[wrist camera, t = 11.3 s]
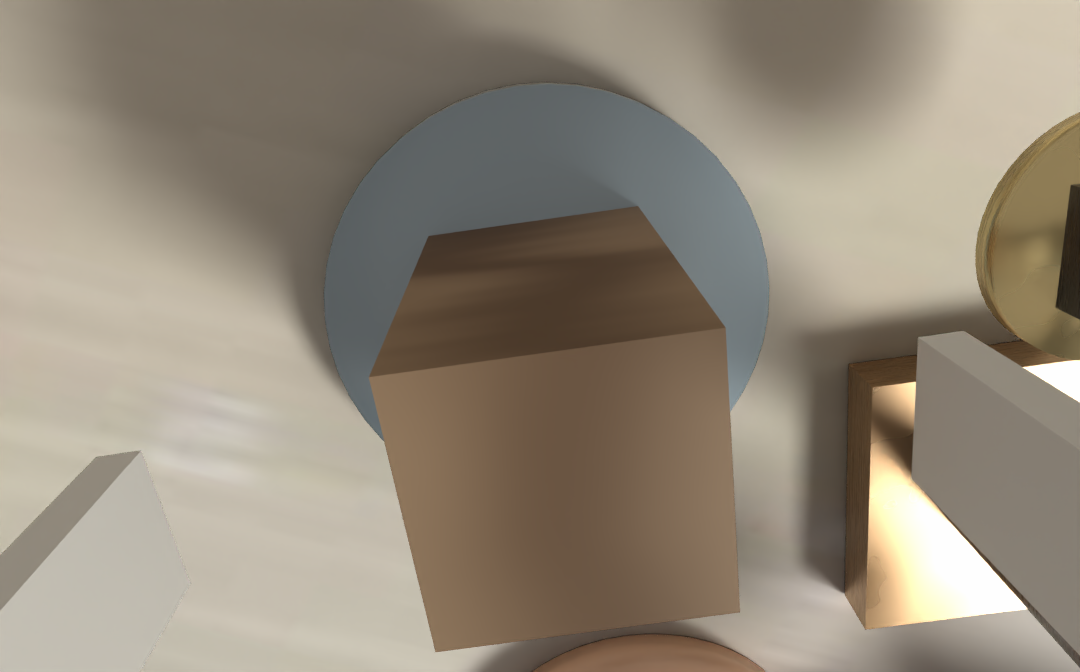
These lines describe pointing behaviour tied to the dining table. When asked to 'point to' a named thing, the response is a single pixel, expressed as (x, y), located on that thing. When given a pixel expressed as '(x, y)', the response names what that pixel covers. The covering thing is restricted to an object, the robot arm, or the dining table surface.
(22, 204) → the dining table surface
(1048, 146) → the balance
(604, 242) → the block
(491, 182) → the blue gray round dish
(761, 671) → the peach glossy dome
